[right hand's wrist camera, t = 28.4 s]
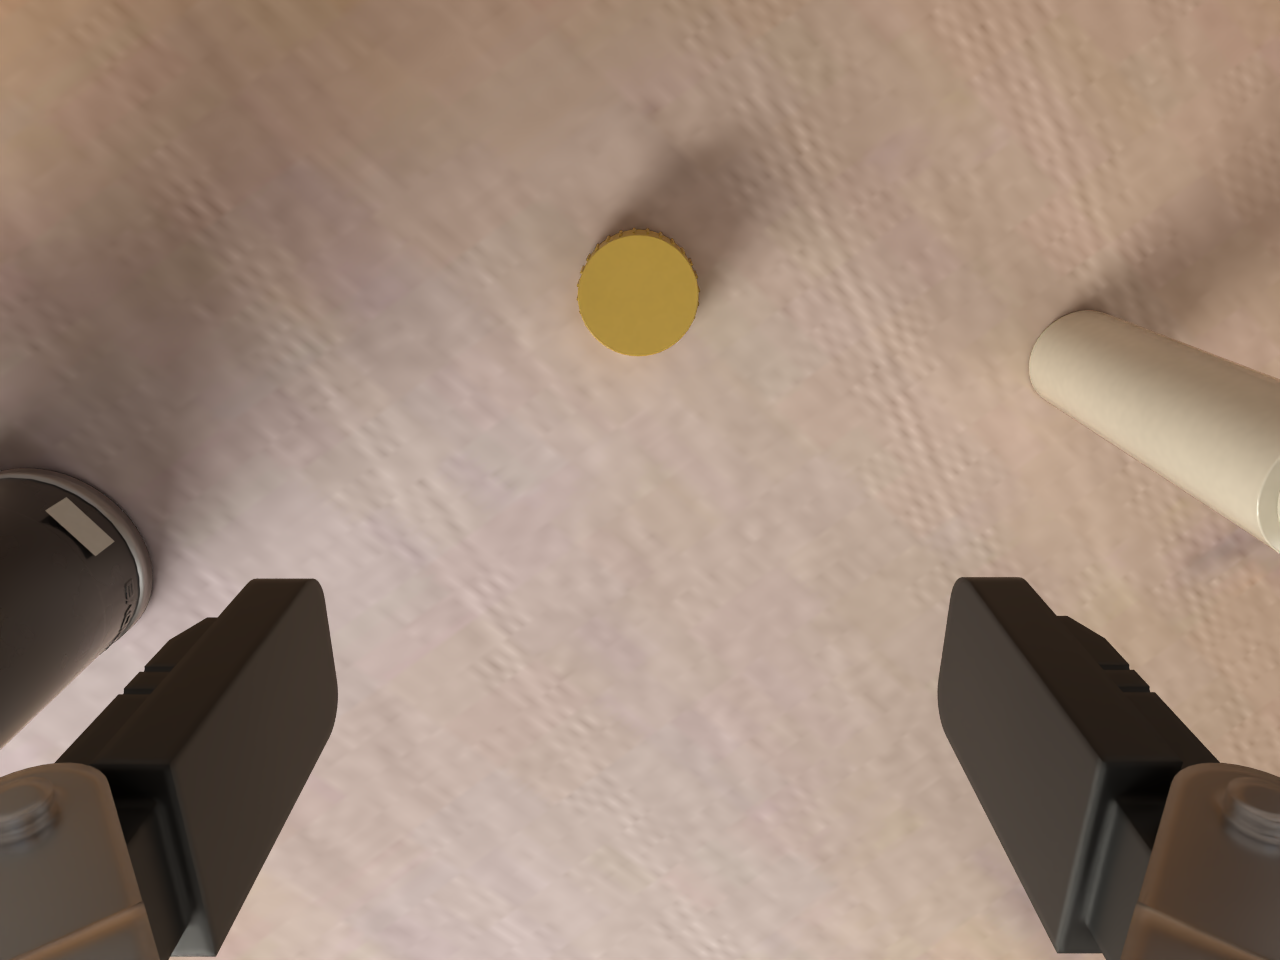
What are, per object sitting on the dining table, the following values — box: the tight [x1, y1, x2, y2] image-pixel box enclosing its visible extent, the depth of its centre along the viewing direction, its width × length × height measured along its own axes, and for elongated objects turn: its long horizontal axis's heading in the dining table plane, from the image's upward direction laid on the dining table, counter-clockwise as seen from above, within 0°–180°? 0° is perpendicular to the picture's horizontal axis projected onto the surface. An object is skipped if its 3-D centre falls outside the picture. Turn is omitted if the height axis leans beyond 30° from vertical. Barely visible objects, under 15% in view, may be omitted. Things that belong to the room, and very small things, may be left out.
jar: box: [1029, 310, 1280, 554], centre depth 30 cm, size 4×4×17 cm
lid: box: [577, 228, 700, 356], centre depth 36 cm, size 5×5×2 cm
